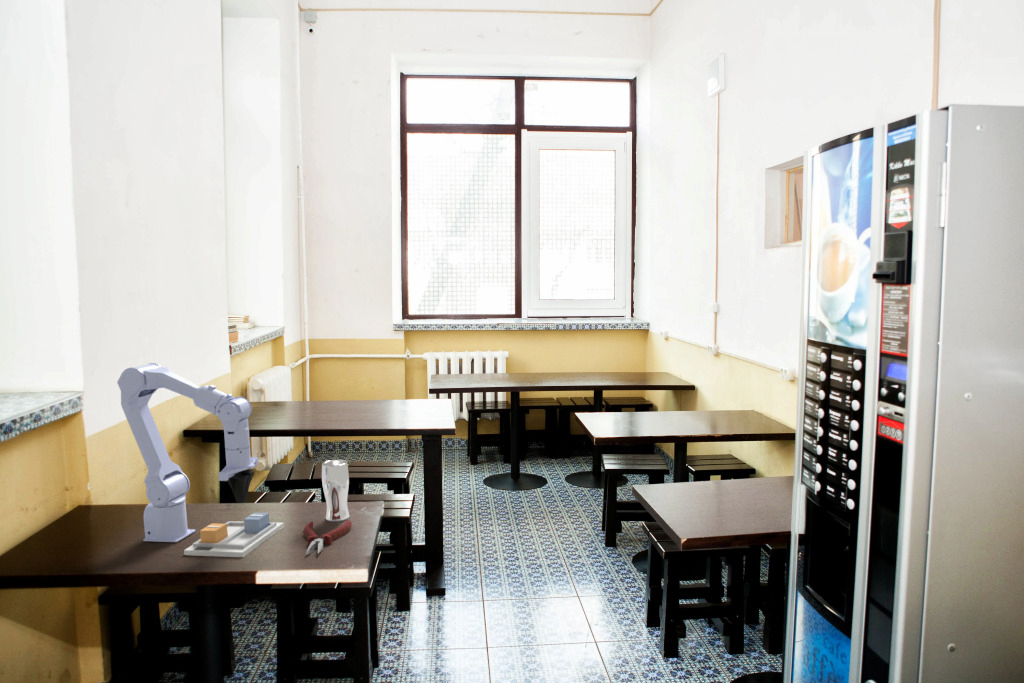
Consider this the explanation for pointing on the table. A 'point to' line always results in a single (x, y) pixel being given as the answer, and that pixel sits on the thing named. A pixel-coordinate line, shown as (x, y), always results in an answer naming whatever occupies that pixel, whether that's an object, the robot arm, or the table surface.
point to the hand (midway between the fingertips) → (241, 501)
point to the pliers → (323, 536)
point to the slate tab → (256, 522)
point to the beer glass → (336, 489)
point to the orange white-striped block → (213, 533)
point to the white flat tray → (234, 541)
